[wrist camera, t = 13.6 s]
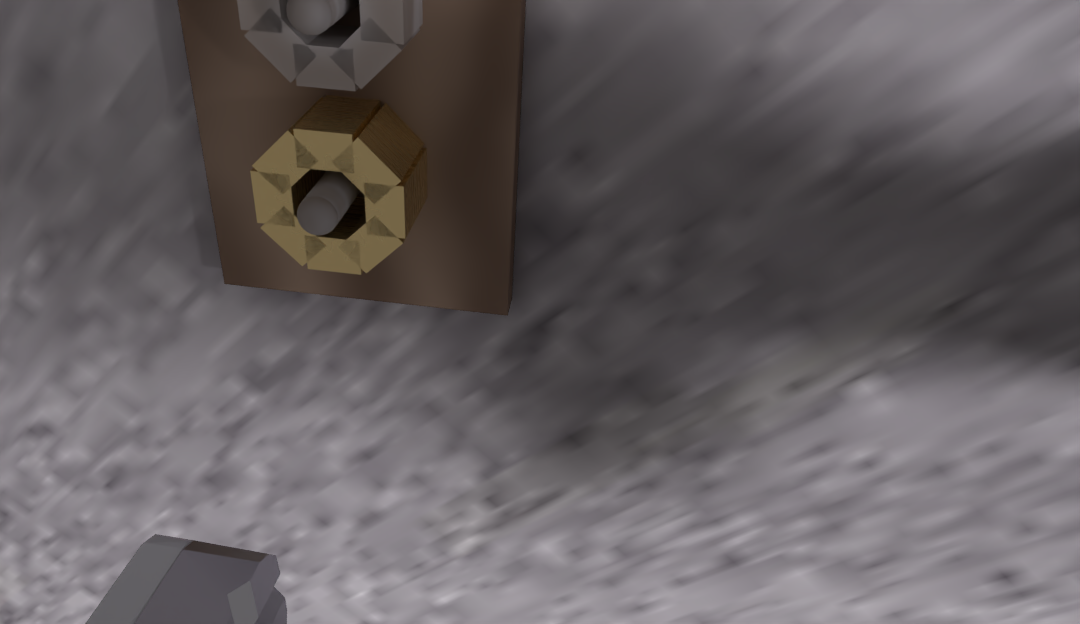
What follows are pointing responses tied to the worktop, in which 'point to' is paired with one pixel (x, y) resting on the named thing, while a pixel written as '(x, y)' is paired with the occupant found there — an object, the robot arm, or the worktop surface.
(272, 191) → the octagonal hollow tube
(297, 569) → the worktop surface
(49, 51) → the worktop surface
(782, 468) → the worktop surface
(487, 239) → the gear board
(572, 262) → the worktop surface
